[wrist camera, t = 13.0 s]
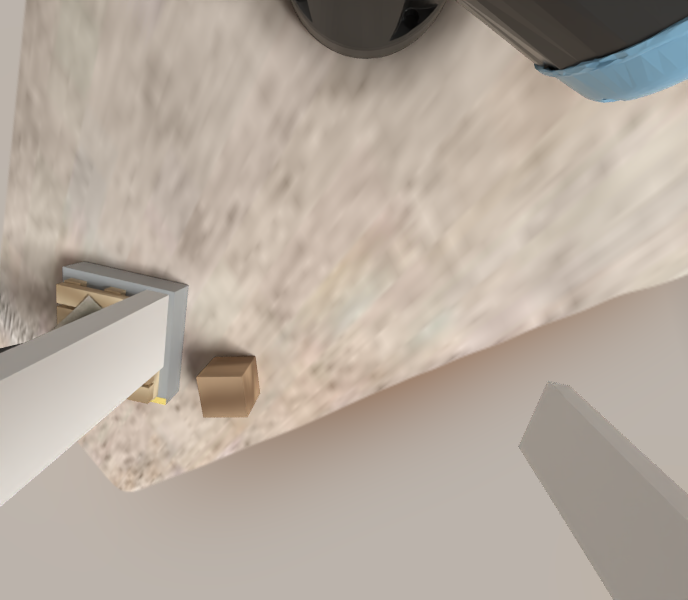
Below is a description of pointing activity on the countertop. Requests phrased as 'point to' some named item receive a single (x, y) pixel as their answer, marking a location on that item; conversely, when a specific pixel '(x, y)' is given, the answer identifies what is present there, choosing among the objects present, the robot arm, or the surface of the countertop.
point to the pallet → (77, 292)
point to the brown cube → (228, 386)
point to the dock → (133, 285)
